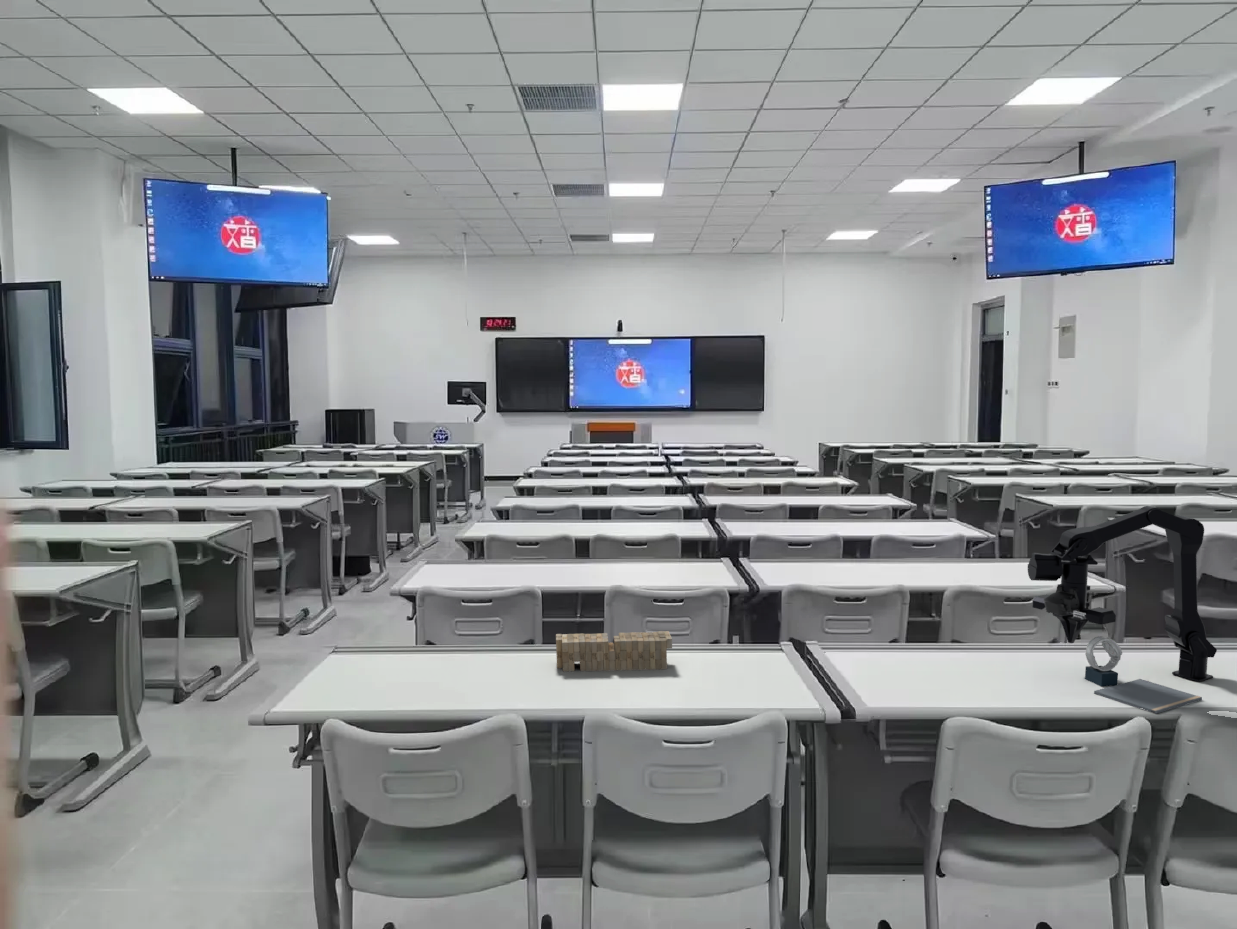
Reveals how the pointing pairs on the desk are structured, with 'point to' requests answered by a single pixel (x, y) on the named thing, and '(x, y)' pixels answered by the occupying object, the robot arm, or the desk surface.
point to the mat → (1148, 695)
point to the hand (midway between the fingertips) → (1070, 642)
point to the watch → (1105, 673)
